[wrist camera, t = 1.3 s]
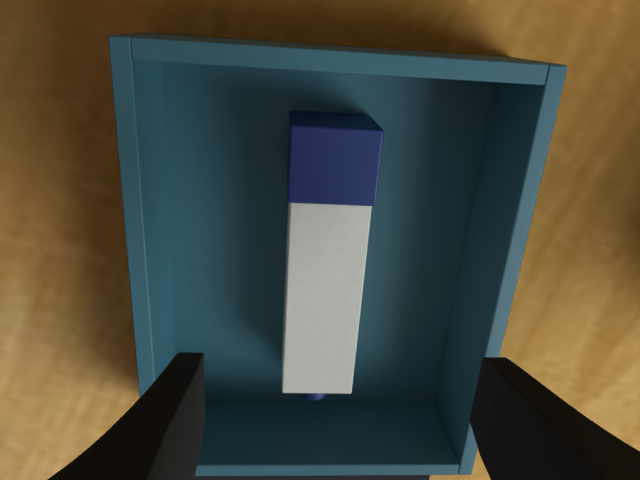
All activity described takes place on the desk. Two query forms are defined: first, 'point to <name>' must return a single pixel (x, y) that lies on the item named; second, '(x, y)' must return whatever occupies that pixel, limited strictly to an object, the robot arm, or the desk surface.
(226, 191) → the storage box
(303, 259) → the marker
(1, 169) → the desk surface
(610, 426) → the desk surface
